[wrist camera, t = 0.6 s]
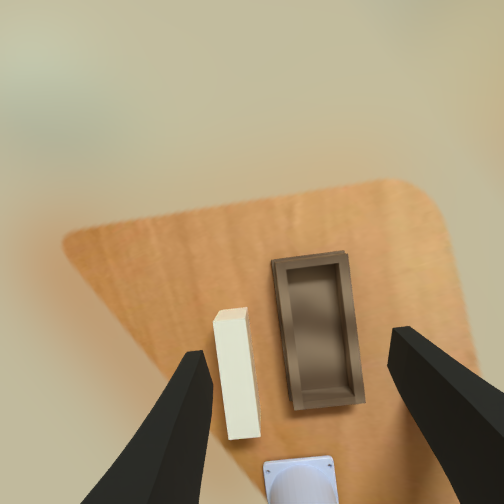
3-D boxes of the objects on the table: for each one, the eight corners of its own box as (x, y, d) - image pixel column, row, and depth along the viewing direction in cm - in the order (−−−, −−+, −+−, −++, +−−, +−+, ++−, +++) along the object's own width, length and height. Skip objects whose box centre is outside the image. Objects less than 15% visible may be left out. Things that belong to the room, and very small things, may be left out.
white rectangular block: (260, 408, 31) (260, 436, 26) (233, 410, 31) (228, 439, 26) (247, 306, 30) (245, 318, 26) (220, 309, 30) (212, 321, 26)
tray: (359, 390, 30) (368, 404, 27) (289, 397, 30) (291, 412, 28) (342, 250, 29) (350, 251, 27) (271, 259, 30) (272, 261, 27)
